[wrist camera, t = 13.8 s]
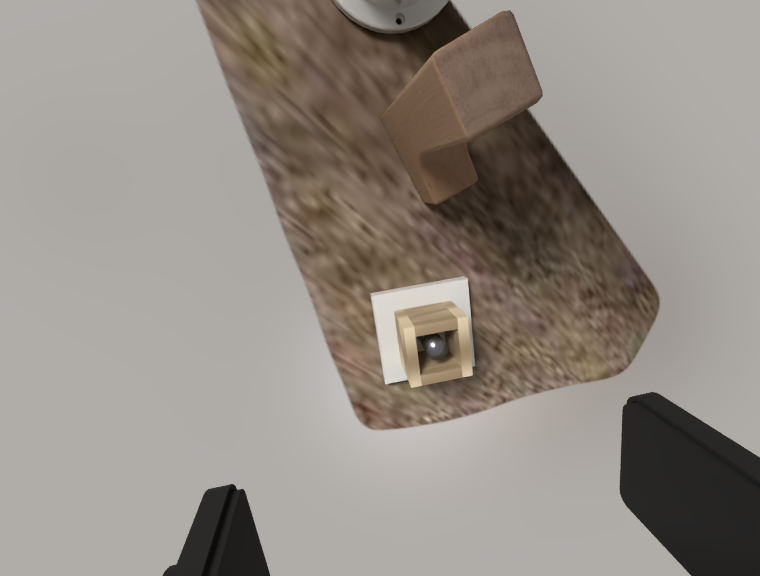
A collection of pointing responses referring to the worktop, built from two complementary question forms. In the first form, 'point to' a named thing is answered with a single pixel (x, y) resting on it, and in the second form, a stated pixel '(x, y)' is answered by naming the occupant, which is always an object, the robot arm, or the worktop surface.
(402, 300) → the pin plate
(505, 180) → the worktop surface
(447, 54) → the wooden block
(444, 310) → the maple collar
